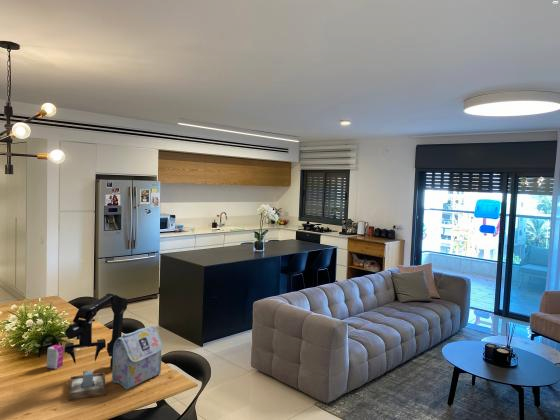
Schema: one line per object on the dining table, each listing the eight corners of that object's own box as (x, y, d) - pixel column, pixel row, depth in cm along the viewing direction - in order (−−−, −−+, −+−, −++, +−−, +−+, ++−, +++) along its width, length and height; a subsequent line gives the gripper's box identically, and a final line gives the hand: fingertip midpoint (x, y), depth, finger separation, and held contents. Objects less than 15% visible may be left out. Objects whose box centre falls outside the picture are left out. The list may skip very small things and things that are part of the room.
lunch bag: (129, 392, 205) (131, 341, 204) (108, 382, 214) (110, 333, 213) (164, 376, 224) (166, 328, 223) (144, 367, 233) (145, 322, 232)
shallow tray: (104, 378, 218) (104, 372, 218) (105, 395, 202) (105, 388, 202) (70, 383, 212) (70, 376, 211) (68, 400, 195) (68, 393, 195)
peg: (92, 385, 210) (92, 370, 209) (92, 389, 205) (92, 373, 205) (82, 386, 208) (83, 371, 207) (82, 390, 204) (82, 375, 203)
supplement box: (55, 369, 225) (56, 349, 225) (46, 368, 226) (46, 348, 226) (63, 365, 231) (63, 345, 230) (54, 364, 232) (54, 344, 231)
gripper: (104, 324, 219) (104, 353, 220) (65, 328, 211) (65, 358, 212) (105, 332, 209) (105, 361, 210) (64, 336, 201) (64, 367, 202)
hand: (85, 362), depth 209 cm, fingers open, 9 cm apart
